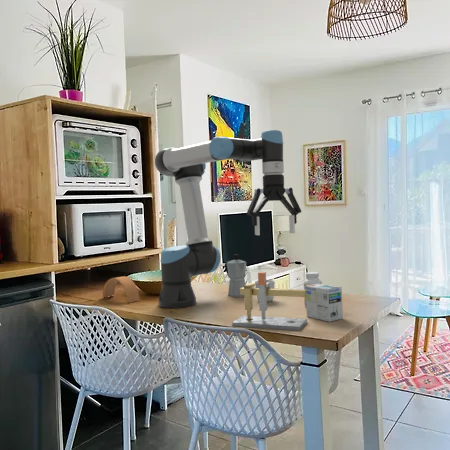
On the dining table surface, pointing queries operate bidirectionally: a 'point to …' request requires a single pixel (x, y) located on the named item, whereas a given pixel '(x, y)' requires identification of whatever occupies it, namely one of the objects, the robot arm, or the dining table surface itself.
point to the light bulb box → (324, 302)
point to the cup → (272, 284)
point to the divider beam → (250, 291)
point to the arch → (127, 285)
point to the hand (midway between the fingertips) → (275, 234)
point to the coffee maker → (235, 275)
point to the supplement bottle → (311, 280)
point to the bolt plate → (270, 322)
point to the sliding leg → (263, 293)
